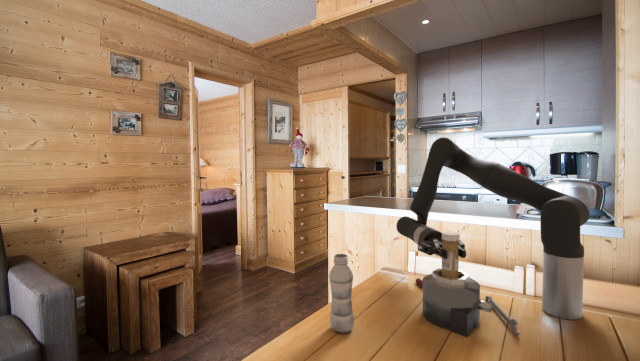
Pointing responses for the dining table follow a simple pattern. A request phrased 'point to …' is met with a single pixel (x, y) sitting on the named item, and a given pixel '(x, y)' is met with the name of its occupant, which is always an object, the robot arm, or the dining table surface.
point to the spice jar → (450, 254)
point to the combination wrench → (504, 315)
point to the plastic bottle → (341, 295)
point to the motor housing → (453, 302)
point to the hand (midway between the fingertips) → (455, 254)
